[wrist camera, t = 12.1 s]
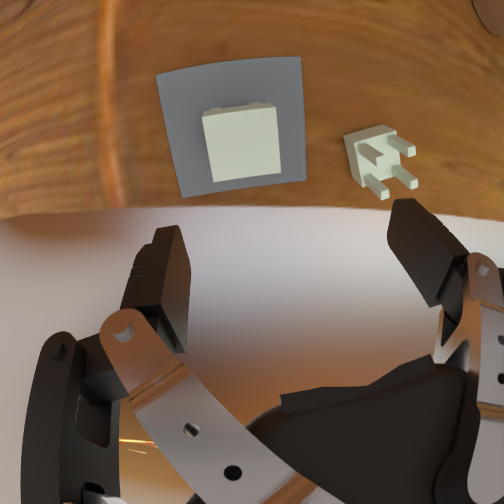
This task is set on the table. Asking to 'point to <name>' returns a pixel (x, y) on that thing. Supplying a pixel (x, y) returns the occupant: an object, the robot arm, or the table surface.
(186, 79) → the mat
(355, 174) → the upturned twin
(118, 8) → the table surface
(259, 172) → the cube with twin tabs
